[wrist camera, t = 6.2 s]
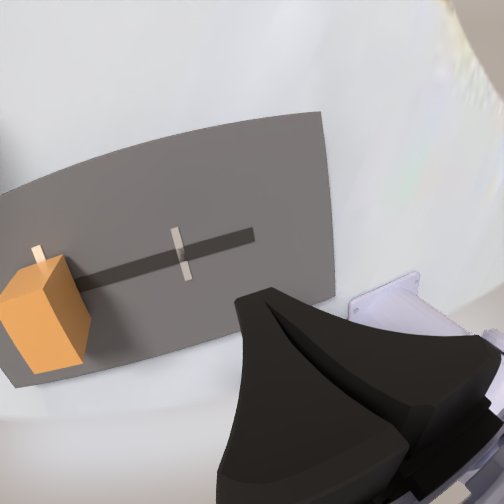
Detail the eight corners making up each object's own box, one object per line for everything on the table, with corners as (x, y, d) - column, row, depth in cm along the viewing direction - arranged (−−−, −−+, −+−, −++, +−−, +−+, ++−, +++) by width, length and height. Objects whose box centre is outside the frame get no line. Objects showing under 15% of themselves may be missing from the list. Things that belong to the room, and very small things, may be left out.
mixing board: (324, 286, 22) (336, 296, 20) (19, 374, 16) (15, 389, 15) (307, 112, 17) (321, 111, 15) (-56, 225, 11) (-69, 233, 10)
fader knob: (91, 318, 15) (83, 363, 12) (49, 330, 14) (34, 374, 11) (63, 253, 13) (42, 289, 10) (18, 269, 12) (-8, 305, 9)
